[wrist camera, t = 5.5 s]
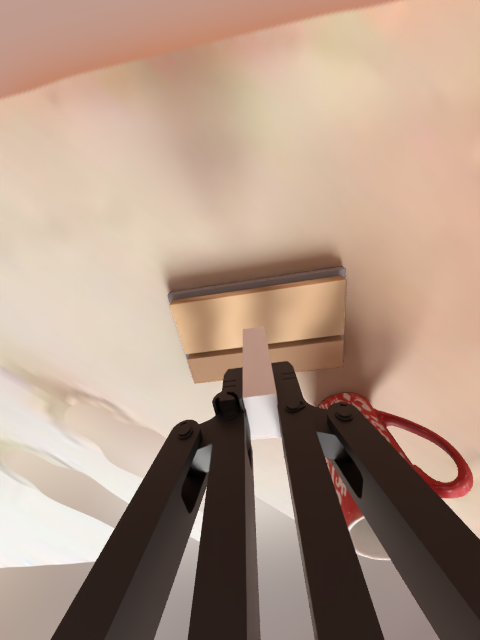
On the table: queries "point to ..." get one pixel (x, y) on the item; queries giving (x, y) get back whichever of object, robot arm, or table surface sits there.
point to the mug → (355, 520)
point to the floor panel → (295, 352)
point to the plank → (262, 314)
